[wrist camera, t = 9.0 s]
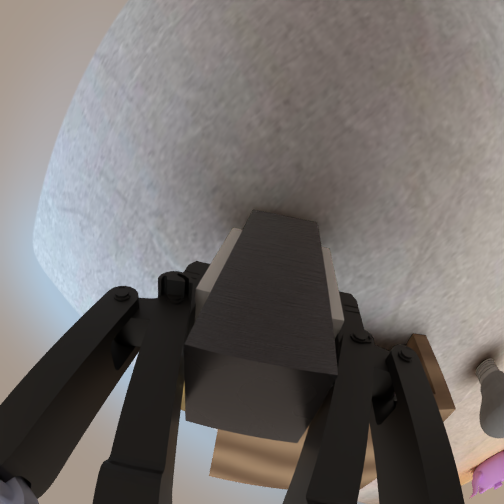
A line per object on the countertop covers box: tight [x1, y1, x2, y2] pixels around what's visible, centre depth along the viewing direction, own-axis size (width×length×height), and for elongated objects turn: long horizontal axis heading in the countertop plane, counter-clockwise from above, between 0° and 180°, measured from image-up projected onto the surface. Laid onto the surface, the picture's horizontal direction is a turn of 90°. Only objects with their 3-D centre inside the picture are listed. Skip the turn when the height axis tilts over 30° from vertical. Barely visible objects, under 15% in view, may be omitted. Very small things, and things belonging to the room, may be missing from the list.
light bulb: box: [476, 358, 504, 438], centre depth 18 cm, size 6×6×10 cm
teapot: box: [471, 451, 504, 497], centre depth 30 cm, size 12×14×9 cm
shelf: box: [209, 334, 456, 489], centre depth 22 cm, size 17×16×8 cm
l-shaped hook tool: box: [184, 210, 338, 443], centre depth 17 cm, size 22×4×12 cm, turn 171°
